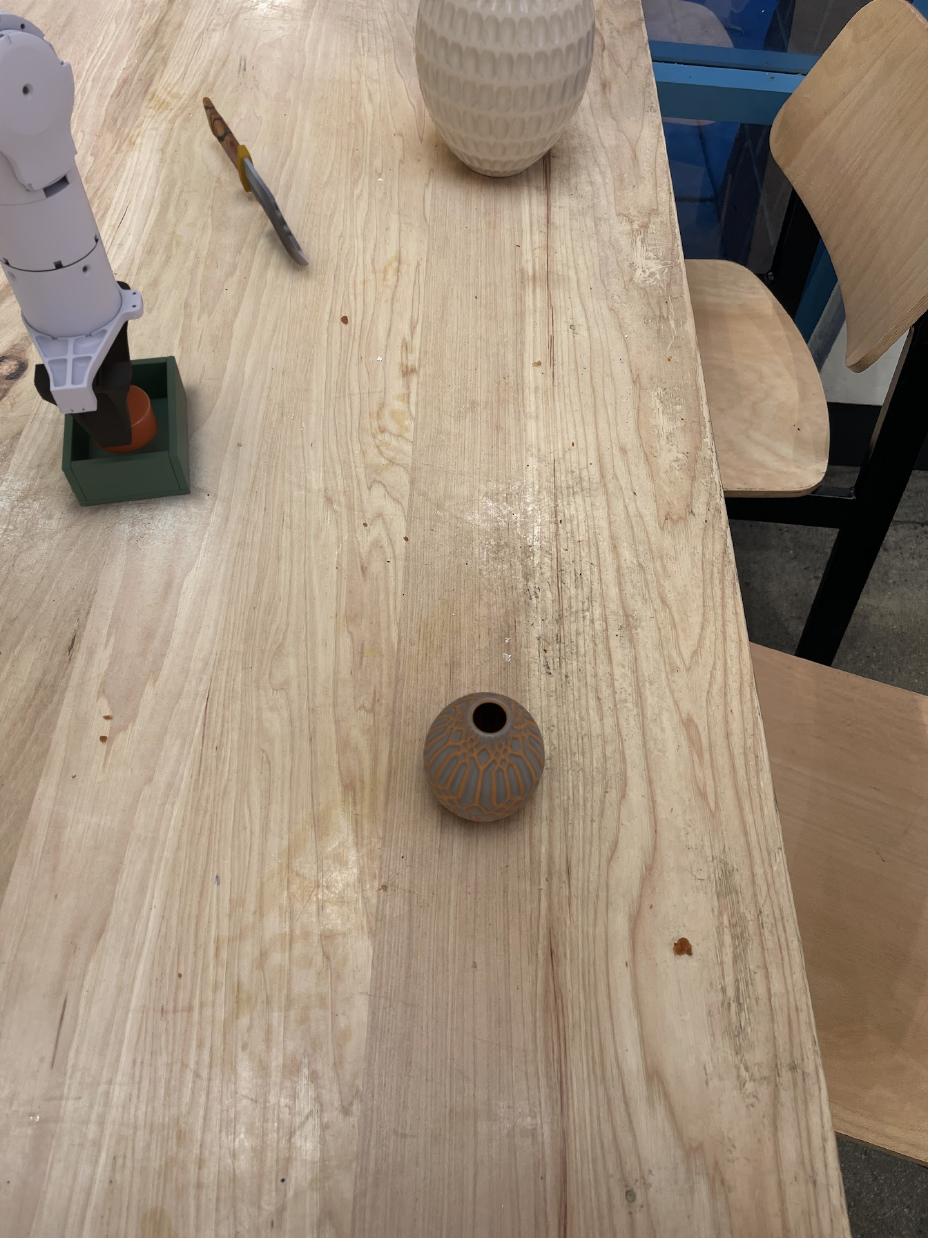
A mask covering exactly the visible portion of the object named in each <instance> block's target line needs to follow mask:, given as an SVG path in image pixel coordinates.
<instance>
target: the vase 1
mask: <svg viewBox="0 0 928 1238" xmlns="http://www.w3.org/2000/svg"><path fill="white" fill-rule="evenodd" d="M595 14H596V13H595V4H594V0H419V3H418V8H417V14H416V22H415V23H416V24H415V35H414V50H415V51H414V52H415V53H414V55H415V59H414V60H415V66H416V72H417V79H418V85H419V90H420V93H421V96H422V100H423V102H424V106H425V108H426V111H427V114H428V115H429V117H430V119H431V122H432V123H433V125H434V127H435V128H436V130H437V132H438V134H439V135H440V137H441V138H442V140H443V141H444V142H445V144H446V145H447V147H448V148H449V150H450V151H451V152H452V153H453V154H454V155H455V157H457V158H458V159H459V160H460V161H461V162H462V163H463V164H465V166H467V167H468V169H470V170H472V171H473V172H475V173H478V174H480V175H484V176H487V177H493V178H494V177H495V178H505V177H510V176H514V175H517V174H520V173H522V172H523V171H525V170H527V169H528V168H530V167H531V166H532V165H533V164H535V163H536V162H538V161H539V160H541V158H543V157H544V156H545V155H546V154H547V153H548V152H549V151H550V149H551V148H552V147H553V146H554V145H555V144H556V143H557V142H558V141H559V140H560V138H561V137H562V135H563V133H565V131H566V130H567V129H568V127H569V126H570V124H571V123H572V121H573V119H574V117H575V115H576V113H577V111H578V109H579V107H580V105H581V103H582V101H583V99H584V96H585V92H586V89H587V85H588V83H589V79H590V75H591V71H592V65H593V59H594V54H595V47H596V45H595V42H596V16H595Z"/></svg>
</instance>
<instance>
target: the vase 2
mask: <svg viewBox="0 0 928 1238" xmlns="http://www.w3.org/2000/svg"><path fill="white" fill-rule="evenodd" d="M422 755H423V756H422V760H423V762H422V763H423V770H424V774H425V779H426V781H427V784H428V786H429V788H430V791H431V792H432V794H433V795H434V797H435V798H436V799H437V801H438V802H439V803H440V804H441V805H442V806H443V807H444V808H446V809H447V810H448V811H449V812H451V813H452V814H454V815H456V816H458V817H459V818H463V819H465V820H468V821H474V822H494V821H497V820H501V819H504V818H507V817H509V816H511V815H513V814H514V813H516V812H517V811H519V810H520V809H521V808H522V807H524V806H525V805H526V804H527V803H528V802H529V801H530V800H531V798H532V797H533V795H534V794H535V792H536V791H537V789H538V788H539V784H540V783H541V779H542V777H543V773H544V770H545V769H544V768H545V763H546V750H545V743H544V739H543V736H542V733H541V730H540V728H539V725H538V723H537V722H536V720H535V718H534V717H533V715H532V713H530V712H529V711H528V709H526V708H525V707H524V706H523V705H522V704H521V703H519V702H518V701H516V700H515V699H513V698H512V697H509V696H507V695H504V694H501V693H496V692H490V691H479V692H473V693H468V694H466V695H462V696H460V697H459V698H456V699H455V700H453V701H452V702H450V703H449V704H447V705H446V706H445V707H444V708H443V709H442V710H441V711H440V712H439V713H438V714H437V716H435V718H434V720H433V721H432V723H431V725H430V727H429V728H428V731H427V734H426V737H425V739H424V744H423V752H422Z"/></svg>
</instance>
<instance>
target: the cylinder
mask: <svg viewBox="0 0 928 1238" xmlns="http://www.w3.org/2000/svg"><path fill="white" fill-rule="evenodd" d="M127 403H128V408H129V414H130V419H131V425H132V444H131V445H126V446H117V447H108V448H102V447H101V446H100V445H99V444H98V443H97V442H96V441H95V440H94V439H93V438H92V437H91V438H92V440H93V442H94V443H95V444H96V445H97V446H98V447H100V448H101V449H103V450H105V451H108V452H113V453H125V452H131V451H134V450H137V449H139V448H141V447H143V446H145V445H146V444H147V443H149V442H150V441H151V440H152V438H153V437H154V436H155V434H156V431H157V426H158V424H157V419H156V416H155V414H154V411H153V408H152V405H151V402H150V399H149V397H148V395H147V394H146V393H145V392H144V391H143V390H142V389H140V388H138V387H136V386H134V385H130V390H129V393H128V395H127Z"/></svg>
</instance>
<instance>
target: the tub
mask: <svg viewBox="0 0 928 1238" xmlns="http://www.w3.org/2000/svg"><path fill="white" fill-rule="evenodd" d="M130 361H132V385H134V386H136V387H138V388H140V389H142V390H143V391H144V392H145V393H146V394H147V395H148V397H149V399H150V402H151V405H152V408H153V411H154V414H155V416H156V419H157V424H158V426H157V431H156V434H155V436H154V437H153V438H152V440H151V441H150V442H149V443H147V444H146V445H145V446H143V447H141V448H139V449H137V450H134V451H131V452H125V453H113V452H108V451H105V450H103V449H101V448H100V447H98V446H97V445H96V444H95V443H94V442H93V440H92V438H91V436H90V435H89V434H88V432H87V431H86V430H85V429H84V428H83V427H82V426H81V425H80V424H79V423H78V422H77V421H76V420H75V419H74V418H73V417H72V416H71V415H70V414H64V422H63V437H62V438H63V440H62V455H61V456H62V457H61V471H62V472H63V474H64V477H65V479H66V480H67V482H68V485H69V486H70V488H71V490H72V493H73V494H74V497H75V498H76V501H77V502H78V504H79V506H80V507H86V506H94V505H95V506H96V505H103V504H110V503H111V504H112V503H120V502H129V501H135V500H145V499H155V498H163V497H172V496H180V495H187V494H191V480H190V479H191V478H190V458H189V457H190V453H189V452H190V451H189V427H188V426H189V425H188V408H187V407H188V405H187V403H188V402H187V393H186V390H185V387H184V383H183V380H182V376H181V372H180V369H179V366H178V363H177V359H176V356H175V355H168V356H157V357H147V358H135V359H130Z"/></svg>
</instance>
